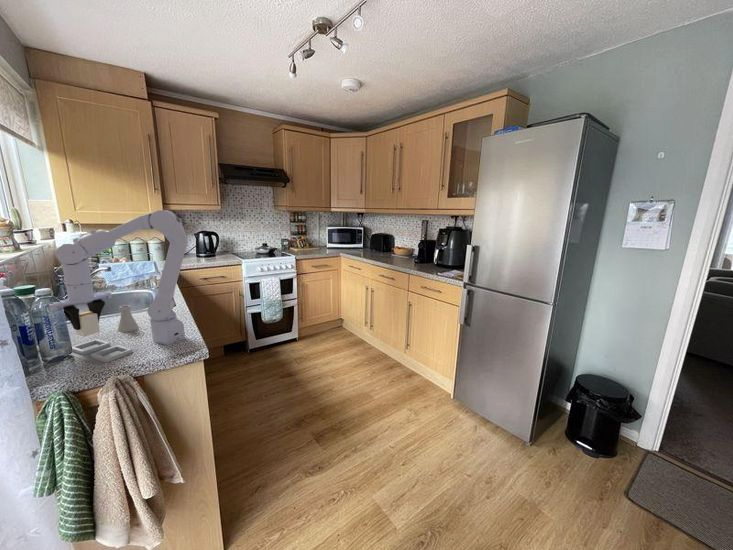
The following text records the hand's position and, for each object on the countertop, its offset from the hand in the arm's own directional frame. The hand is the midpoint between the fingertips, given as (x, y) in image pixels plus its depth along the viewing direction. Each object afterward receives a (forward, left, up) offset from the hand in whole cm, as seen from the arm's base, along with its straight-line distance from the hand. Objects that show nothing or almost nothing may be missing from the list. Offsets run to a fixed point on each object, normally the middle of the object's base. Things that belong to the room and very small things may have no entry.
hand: (86, 326), depth 93 cm
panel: (-6, 0, -9) cm, 10 cm away
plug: (0, 0, -2) cm, 2 cm away
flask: (+6, -15, -9) cm, 18 cm away
